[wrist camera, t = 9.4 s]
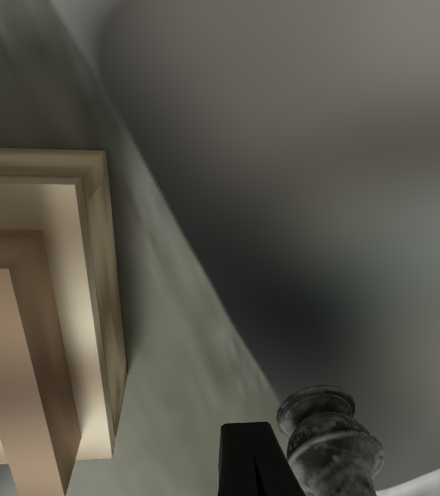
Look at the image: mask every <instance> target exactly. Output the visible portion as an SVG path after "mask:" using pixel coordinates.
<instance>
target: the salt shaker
mask: <svg viewBox="0 0 440 496" xmlns="http://www.w3.org/2000/svg"><path fill="white" fill-rule="evenodd" d="M354 413H355V403H354V401H353V398H352V397H351V395H350V394H349V393H348V392H347V391H345V390H343V389H341V388H339V387H335V386H331V385H317V386H312V387H308V388H305V389H302V390H300V391H298V392H296V393H294V394H293V395H291V396H290V397H288V398H287V399H286V400H285V401H284V402H283V403H282V405H281V407H280V408H279V410H278V413H277V417H276V419H277V425H278V428H279V429H280V431H281V433H283V434H284V435H285V436H286V437H288V438H289V442H288V448H287V461H288V463H289V465H290V467H291V469H292V471H293V473H294V475H295V477H296V478H297V480H298V482H299V484H300V486H301V487H302V489H303V491H304V493H305V494H306V495H308V496H377V495H376V493H375V489H374V485H373V480H372V479H373V478H374V477H375V476H376V474H377V473H378V472H379V471H380V470H381V467H382V465H383V463H384V458H385V451H384V449H383V447H382V444H381V443H380V442H379V441H378V440H377V439H376V438H375V437H374V436H371V435H370V433H369V432H368V431H367V430H366V429H365V428H364V427H363V426H362V425H361V424H360V423H359V422H358V421H357V420H355V419H354V418H353V416H354Z"/></svg>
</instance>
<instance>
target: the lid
mask: <svg viewBox="0 0 440 496" xmlns="http://www.w3.org/2000/svg"><path fill="white" fill-rule="evenodd" d="M114 446H115V436H114V428H113V421H112V413H111V405H110V397H109V389H108V382H107V374H106V366H105V358H104V350H103V343H102V335H101V327H100V319H99V311H98V304H97V296H96V288H95V280H94V273H93V265H92V257H91V249H90V241H89V234H88V226H87V218H86V210H85V202H84V195H83V187H82V179H81V178H79V177H23V176H0V464H9V467H10V470H11V473H12V476H13V479H14V482H15V485H16V488H17V491H18V494H19V496H66V492H67V488H68V485H69V481H70V478H71V474H72V470H73V467H74V463H75V460H86V459H104V458H112V457H113V452H114Z"/></svg>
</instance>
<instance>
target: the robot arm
mask: <svg viewBox="0 0 440 496" xmlns="http://www.w3.org/2000/svg"><path fill="white" fill-rule="evenodd" d="M218 468H219V490H218V496H306V494H305V493H304V491H303V489H302V487H301V486H300V484H299V482H298V480H297V478H296V477H295V475H294V473H293V471H292V469H291V467H290V465H289V463H288V461H287V459H286V458H285V456H284V453H283V451H282V449H281V447H280V445H279V443H278V441H277V439H276V437H275V434H274V432H273V430H272V427H271V425H270V424H269V423H268V422H250V423H228V424H224V425H223V426H221V435H220V450H219V466H218Z"/></svg>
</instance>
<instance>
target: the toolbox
mask: <svg viewBox="0 0 440 496" xmlns="http://www.w3.org/2000/svg"><path fill="white" fill-rule="evenodd" d="M0 176H23V177H79V178H81V179H82V187H83V195H84V202H85V210H86V218H87V226H88V234H89V241H90V249H91V257H92V265H93V273H94V280H95V288H96V296H97V304H98V311H99V319H100V327H101V335H102V343H103V350H104V358H105V366H106V374H107V382H108V389H109V397H110V405H111V413H112V421H113V428H114V436H115V438H116V435H117V430H118V424H119V419H120V413H121V408H122V403H123V397H124V392H125V386H126V381H127V367H126V356H125V346H124V335H123V324H122V314H121V303H120V293H119V282H118V271H117V261H116V250H115V240H114V229H113V218H112V208H111V197H110V187H109V176H108V165H107V155H106V150H69V149H29V148H0Z"/></svg>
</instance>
